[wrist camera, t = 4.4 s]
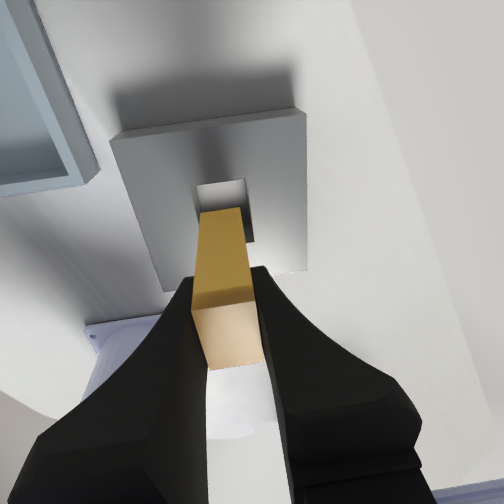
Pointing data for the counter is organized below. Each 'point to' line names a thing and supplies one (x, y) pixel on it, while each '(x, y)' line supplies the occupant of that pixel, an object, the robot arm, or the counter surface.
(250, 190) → the socket block
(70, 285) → the counter surface
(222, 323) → the block
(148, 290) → the counter surface
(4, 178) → the parts tray
